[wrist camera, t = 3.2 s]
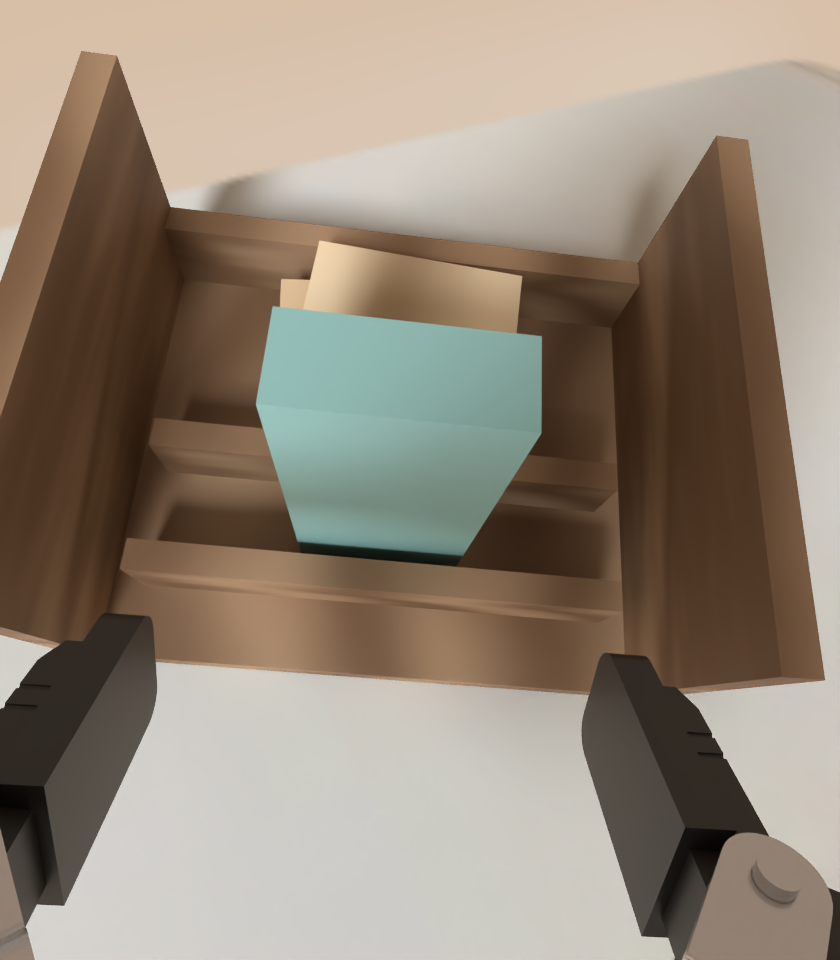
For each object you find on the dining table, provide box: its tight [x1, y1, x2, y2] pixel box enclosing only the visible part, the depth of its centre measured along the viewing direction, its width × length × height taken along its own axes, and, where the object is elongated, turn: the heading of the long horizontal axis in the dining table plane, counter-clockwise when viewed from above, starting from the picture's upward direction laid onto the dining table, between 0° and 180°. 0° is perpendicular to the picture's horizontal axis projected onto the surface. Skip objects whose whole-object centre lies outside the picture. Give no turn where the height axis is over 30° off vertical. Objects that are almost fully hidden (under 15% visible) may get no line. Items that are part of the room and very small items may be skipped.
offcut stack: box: [280, 240, 522, 333], centre depth 24 cm, size 9×5×4 cm, turn 86°
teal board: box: [256, 306, 542, 567], centre depth 19 cm, size 6×2×12 cm, turn 86°
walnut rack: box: [0, 51, 825, 695], centre depth 22 cm, size 20×16×10 cm
